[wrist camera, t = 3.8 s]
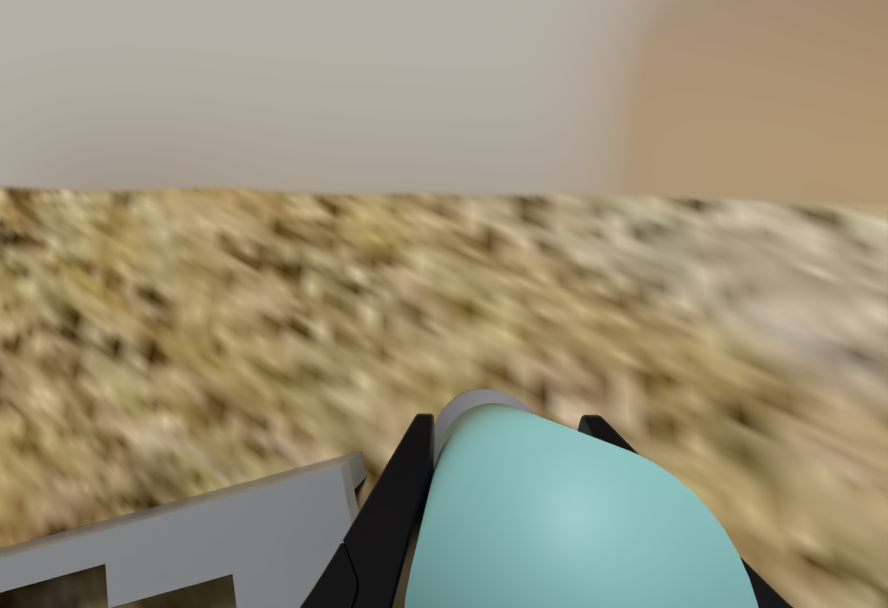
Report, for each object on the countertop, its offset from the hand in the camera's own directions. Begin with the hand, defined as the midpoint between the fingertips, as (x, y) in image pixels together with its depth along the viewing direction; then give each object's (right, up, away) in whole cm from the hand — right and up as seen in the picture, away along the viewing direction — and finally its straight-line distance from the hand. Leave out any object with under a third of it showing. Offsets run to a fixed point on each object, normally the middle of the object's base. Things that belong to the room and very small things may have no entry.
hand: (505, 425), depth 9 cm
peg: (0, -3, +6) cm, 7 cm away
